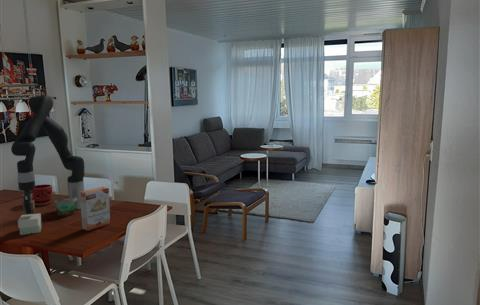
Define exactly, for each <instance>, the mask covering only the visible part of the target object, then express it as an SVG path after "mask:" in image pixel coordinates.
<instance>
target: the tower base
mask: <svg viewBox="0 0 480 305" xmlns="http://www.w3.org/2000/svg"><path fill="white" fill-rule="evenodd" d="M41 229H42V221H41V222H40V224H39V226H34V227H25V228H19V235H20V236H22V235H23V236H24V235H30V234H31V233H32V234H37V233H41V231H42V230H41Z"/></svg>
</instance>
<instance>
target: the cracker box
mask: <svg viewBox="0 0 480 305" xmlns="http://www.w3.org/2000/svg"><path fill="white" fill-rule="evenodd" d="M109 188H110V187H106V186H100V187H96V188H95V187H94V188H91V189H87V190H84V191H82V192H80V199H81V209H80V213H81V214H80V216H81V229H82V230H84V231H87V232H89V231H92V230H95V229H98V228H101V227H104V226H108V225H110V224H111V210H110V207H111V206H110V189H109Z"/></svg>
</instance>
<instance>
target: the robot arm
mask: <svg viewBox="0 0 480 305" xmlns="http://www.w3.org/2000/svg"><path fill="white" fill-rule="evenodd" d="M27 103H28V107H29V109H30V111H31V112H32V114H33V116H32V117H31V118H30V119H29V120H28V121H27V122H26V124H24V127H23V129H22V132H21V133H20V135H18V137H17V138H16V140H14V142H13V143H12V144H11V148H10V149H11V153H12V154H13V155H14V156H16V157H19V156H20V157H24V156H25V157H24V159H21V160H18V161H17V162H16V169H17V184H18V185H17V186H18V190H19V191H23V193H22V198H23V201H24V206H25V207H26V213H27V215H29V213H31V201H32V190H33V189H35V186H36V181H35V178H36V177H35V172H34V158H35V153H36V146H35V144H34V143H33V142H35V141H36V139H37V137H38V134H39V131H40V130H41V127H42V128H43V129H44V131H45V133H46V135H47V137H48V139H49V140H50V142H51V144H52V145H53V147H54V149H55V151H56V152H57V154H58V156H59V159H60V161H61V163H62V165H63V167H64V168H65V169H66V170H67V171H71V175H69V176H68V177H67V180H66V181H67V190H68V199H73V198H75V197H76V198H77V201H76V206H75V210H81V199H80V192H82V191H85V182H84V177H85V161H84V158H83V157H81V156H77V155H73V154H72V153H71V151H70V150H69V147H68V146H69V145H68V144H69V139H68V138H69V137H68V135H67V133H66V131H65V129H64V128H63V126H62V125H61V124H59V123H58V122H57V121H55V120H53V119H52V118H51V117H50V116H49V114H50V113H51V111H52V109H53V106H54V101H53V99H52V97H51V96H50V95H47V94H43V95H42V94H41V95H35V96H32V97H31V96H30V98H28V102H27ZM27 202H28V203H29V204H26V203H27Z"/></svg>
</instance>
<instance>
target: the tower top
mask: <svg viewBox="0 0 480 305" xmlns="http://www.w3.org/2000/svg"><path fill="white" fill-rule="evenodd" d="M41 214H42V213H34V214H27V215H23V214H22V215H20V216H19V218H18V219H17V226H18V229H20V228H25V227H34V226H39V224H40V222H41V223H42V215H41Z"/></svg>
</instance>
